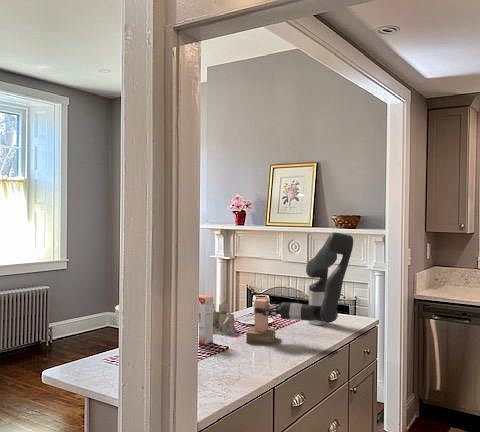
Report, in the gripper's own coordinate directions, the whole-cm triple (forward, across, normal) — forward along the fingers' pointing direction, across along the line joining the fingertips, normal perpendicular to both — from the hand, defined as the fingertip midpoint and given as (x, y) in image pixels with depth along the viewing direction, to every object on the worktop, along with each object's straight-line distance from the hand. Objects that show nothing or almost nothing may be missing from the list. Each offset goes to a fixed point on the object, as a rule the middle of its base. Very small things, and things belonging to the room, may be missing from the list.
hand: (257, 308), depth 227 cm
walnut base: (-2, 0, +15) cm, 15 cm away
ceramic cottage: (+22, -9, +15) cm, 28 cm away
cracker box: (+25, +11, +15) cm, 31 cm away
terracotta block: (-2, 0, +10) cm, 10 cm away
